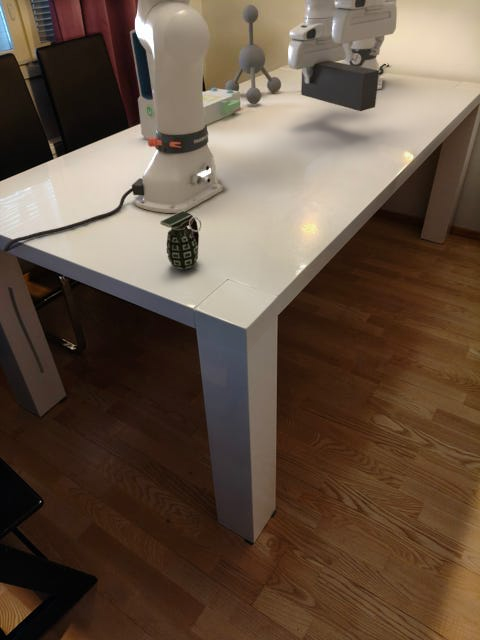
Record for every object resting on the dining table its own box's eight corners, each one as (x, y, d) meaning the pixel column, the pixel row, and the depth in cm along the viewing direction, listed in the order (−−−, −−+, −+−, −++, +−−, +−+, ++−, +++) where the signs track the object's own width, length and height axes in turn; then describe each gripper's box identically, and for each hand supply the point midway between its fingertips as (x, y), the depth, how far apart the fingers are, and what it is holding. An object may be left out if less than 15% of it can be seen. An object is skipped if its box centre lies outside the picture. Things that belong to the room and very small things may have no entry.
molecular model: (299, 96, 185) (301, 2, 166) (252, 107, 175) (249, 9, 157) (262, 86, 200) (261, -1, 182) (217, 96, 191) (211, 5, 173)
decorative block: (204, 85, 179) (249, 90, 169) (206, 103, 183) (250, 109, 173) (156, 101, 163) (202, 108, 153) (159, 121, 167) (204, 129, 157)
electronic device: (141, 137, 154) (123, 28, 136) (159, 131, 158) (144, 24, 140) (166, 145, 147) (151, 30, 129) (185, 138, 151) (172, 26, 133)
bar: (375, 107, 138) (379, 70, 132) (360, 111, 135) (364, 73, 129) (315, 91, 155) (316, 58, 149) (301, 95, 152) (302, 61, 146)
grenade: (182, 278, 88) (175, 228, 82) (162, 268, 91) (153, 219, 85) (208, 263, 92) (203, 214, 85) (187, 253, 95) (181, 205, 89)
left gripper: (387, -9, 129) (380, 50, 138) (329, 0, 121) (326, 62, 129) (406, -8, 125) (398, 53, 133) (347, 1, 116) (343, 65, 125)
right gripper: (338, 23, 146) (335, 73, 155) (285, 32, 137) (284, 85, 146) (353, 24, 142) (349, 76, 150) (299, 34, 133) (298, 88, 142)
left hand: (362, 57), depth 131 cm, fingers open, 8 cm apart
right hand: (317, 80), depth 148 cm, fingers closed on bar, 6 cm apart
